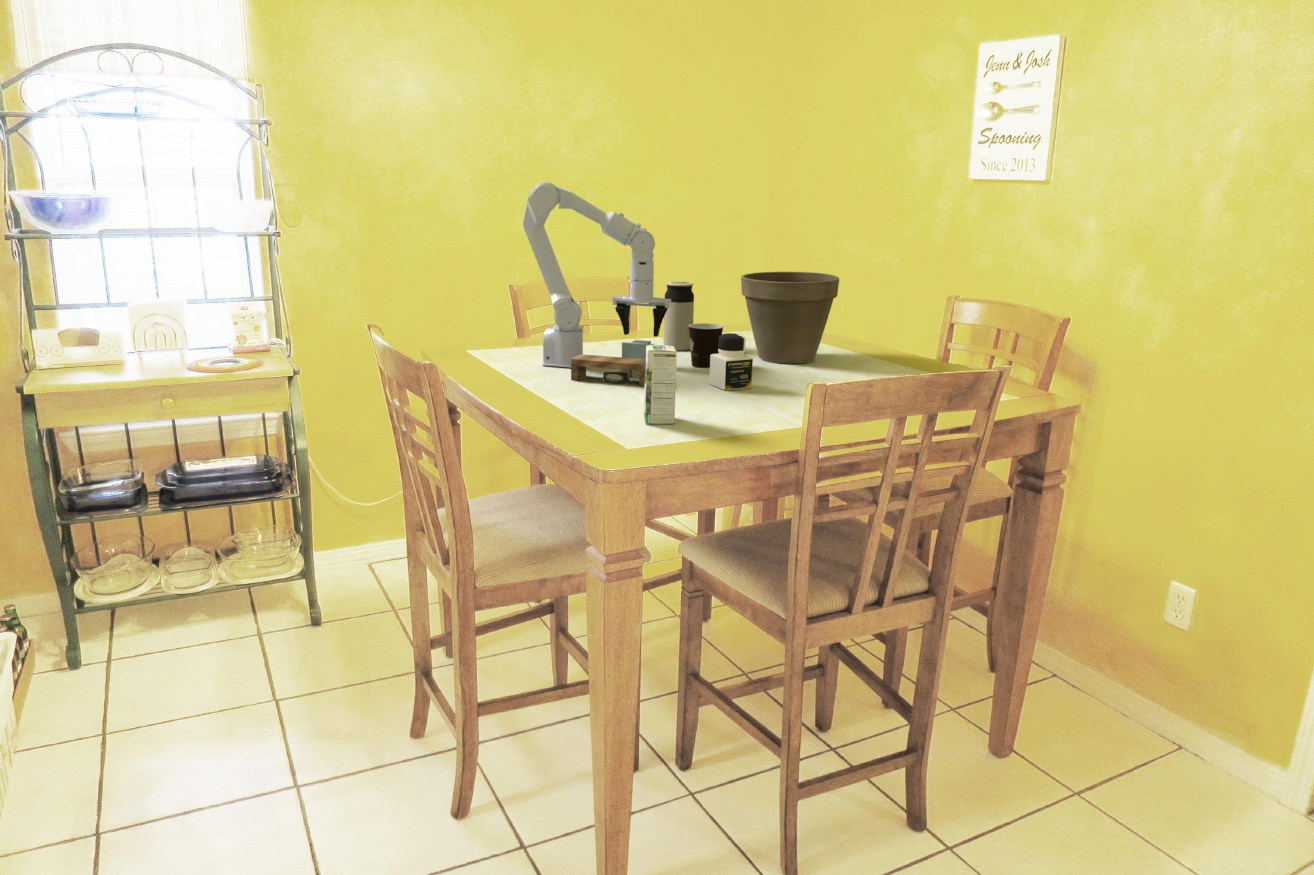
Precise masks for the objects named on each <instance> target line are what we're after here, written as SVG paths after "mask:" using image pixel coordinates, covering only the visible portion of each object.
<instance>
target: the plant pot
mask: <svg viewBox="0 0 1314 875" xmlns="http://www.w3.org/2000/svg"><path fill="white" fill-rule="evenodd" d="M740 284H741V285H740V286H741V287H740V288H741V289H740V290H741V295H742V296H743V297H744V298H745V303H746V308H747V312H748V313H747V314H748V317H749V322H750V326H751V330H752V331H751V332H752V335H753V339H754V343H755V347H756V351H757V354H758V357H759V359H761V360H762V361H765V362H769V363H775V364H786V365H787V364H788V365H789V364H790V365H791V364H795V365H796V364H805V363H811V362H813V361H815V358H816V355H817V353H818V350H819V348H820V344H821V341H822V337H823V334H824V331H825V328H826V325H827V322H828V320H829V319H828V318H829V316H830V312H831V310H832V305H833V302H834V299H836V298H837V297H838V293H839V285H840V277H839V276H837V275H834V274H830V273H823V272H822V273H821V272H809V271H763V272H760V271H759V272H752V273H744V274H743V275H742V274H741V277H740Z"/></svg>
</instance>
